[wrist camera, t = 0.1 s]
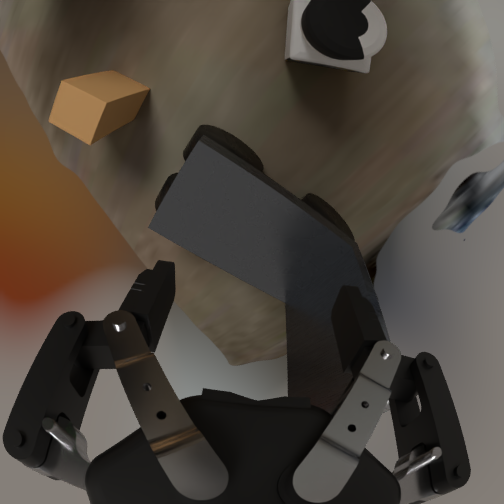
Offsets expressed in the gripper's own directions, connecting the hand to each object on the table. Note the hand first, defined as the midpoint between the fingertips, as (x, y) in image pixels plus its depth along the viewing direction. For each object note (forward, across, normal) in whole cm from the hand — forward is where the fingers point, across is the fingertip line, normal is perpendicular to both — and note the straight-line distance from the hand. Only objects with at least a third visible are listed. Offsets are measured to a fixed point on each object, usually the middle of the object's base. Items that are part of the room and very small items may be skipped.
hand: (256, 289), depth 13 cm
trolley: (+23, 0, +4) cm, 23 cm away
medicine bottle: (+20, -4, -17) cm, 27 cm away
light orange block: (+21, +18, -8) cm, 29 cm away
